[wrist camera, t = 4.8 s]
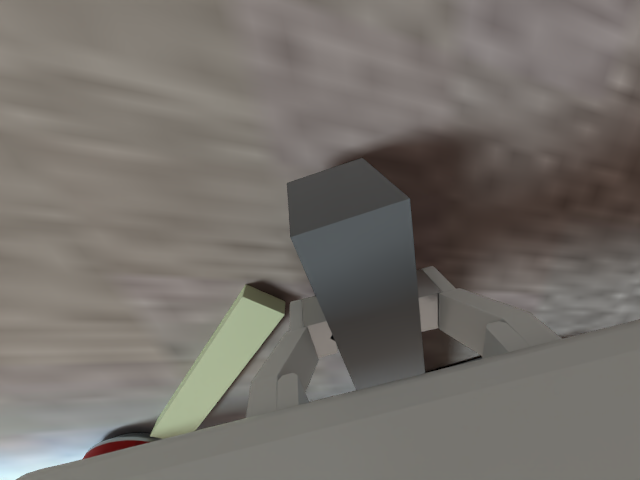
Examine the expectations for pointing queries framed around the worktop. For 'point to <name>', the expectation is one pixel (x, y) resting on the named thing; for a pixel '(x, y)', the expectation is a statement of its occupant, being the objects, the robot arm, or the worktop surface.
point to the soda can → (119, 443)
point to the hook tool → (361, 268)
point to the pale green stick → (220, 361)
